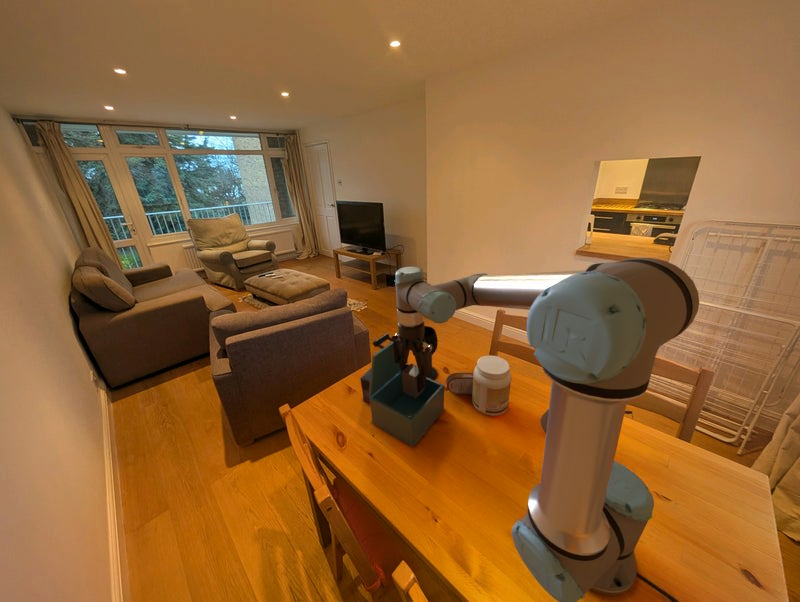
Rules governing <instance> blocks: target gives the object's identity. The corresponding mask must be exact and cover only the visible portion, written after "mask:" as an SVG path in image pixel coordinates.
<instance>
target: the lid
mask: <svg viewBox="0 0 800 602" xmlns="http://www.w3.org/2000/svg"><path fill="white" fill-rule="evenodd" d="M387 340H388V341H390V342H389V343H388V344H386V345H385V346H383V345H382V344H383V343H385V342H387ZM372 345H373V346H374V347H375V348H379V350H378V351H377V352H375V353H374V354H372V359H371V366H370V368H371V377H370V386H369V397H371V396H372V395H373V394H375V393H376V392H377V391H378V390H379V389H380V388H382V387H383V386H384V385H385V384H386V383H387V382H389V381H390V380H391V379H392V378H393V377H394V376H396V375H397V374H398V373H399V372H400V371H401V368H400V366H399V364H398V363H397V364H396V363H395V358H394V343H393V340H392V336H391V337H390V334H389V333H384V334H383V335H381V336H380V337H378V338H376V339H374V340H373V342H372ZM402 345H403V344H402Z"/></svg>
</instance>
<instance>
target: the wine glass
mask: <svg viewBox="0 0 800 602" xmlns="http://www.w3.org/2000/svg"><path fill="white" fill-rule="evenodd" d="M424 331H425V332H424V339H425V343H427V344H428V345H430V344H432V345H433V350H432V356H433V355H434V354H435V353H436V352H437V349H438V343H439V342H438V341H439V340H438V335H437V332H436V329H435V328H433V327H432V326H428V325H424ZM422 348H423V346H422ZM423 350H424V348H423ZM423 356H424V351H423ZM426 377H427V378H429V379H431V380H434V381H435V380H436V379H437V377H438V371H437V369H436V368H435V367H433V366H432V372H431V373H430V374H429V375H428V376H426Z"/></svg>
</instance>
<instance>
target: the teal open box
mask: <svg viewBox="0 0 800 602" xmlns="http://www.w3.org/2000/svg"><path fill="white" fill-rule="evenodd" d="M369 404H370V411H371V420H372V424H374V425H375V426H377V427H378V428H380V429H381V430H384V431H385V432H386V433H388V434H390V435H392V436H393V437H395V438H396V439H398V440H400V441H402V442H403V443H405V444H406V445H408V446H410V447H411V448H414V447H415V446H416V445H417V443H418V442H419V441H420V440H421V439H422V437H423V436H424V434H426V432H427V431H428V430H429V429H430V427H431V426H432V425H433V424H434V422H435V421H436V420H437V419H438V418H439V416H440V415H441V414H442V413H443V412H444V410H445V385H444V384H443V383H441V382H438V381H436V380H435V379H434V380H431V379H429V378H427V377H426V382H425V389H424V390H423V391H422V392H421V393H420V394H419V395H418V396H417V398H414V397H412V396H410V395H408V394H406V393H404V392H403V384H402V374H401V371H400V372H399V373H398V374H397V375H396V376H394V377H393V378H392V379H391V380H390V381H389V382H387V383H386V384H385V385H384V386H383V387H382V388H380V389H379V390H378V391H377V392H376V393H375V394H373V395H372V396H371V397H370V403H369Z"/></svg>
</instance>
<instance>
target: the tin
mask: <svg viewBox="0 0 800 602" xmlns="http://www.w3.org/2000/svg"><path fill="white" fill-rule="evenodd" d="M445 385H446V388H447V390H448V391H449V392H450V393H452V394H454V395H472V391H473V372H453V373H450V374H449V375H448V376H447V377H446V380H445Z"/></svg>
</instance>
